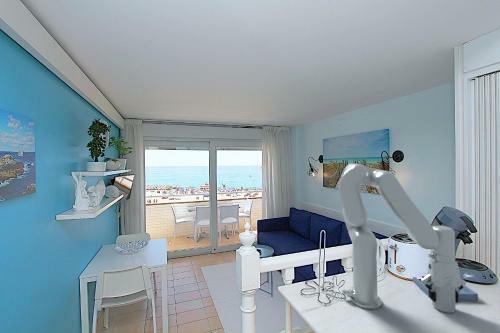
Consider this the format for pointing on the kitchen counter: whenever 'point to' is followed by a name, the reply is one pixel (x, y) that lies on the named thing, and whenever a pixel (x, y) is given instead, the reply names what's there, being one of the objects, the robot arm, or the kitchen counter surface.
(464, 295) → the tray
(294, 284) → the kitchen counter surface
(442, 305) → the can
